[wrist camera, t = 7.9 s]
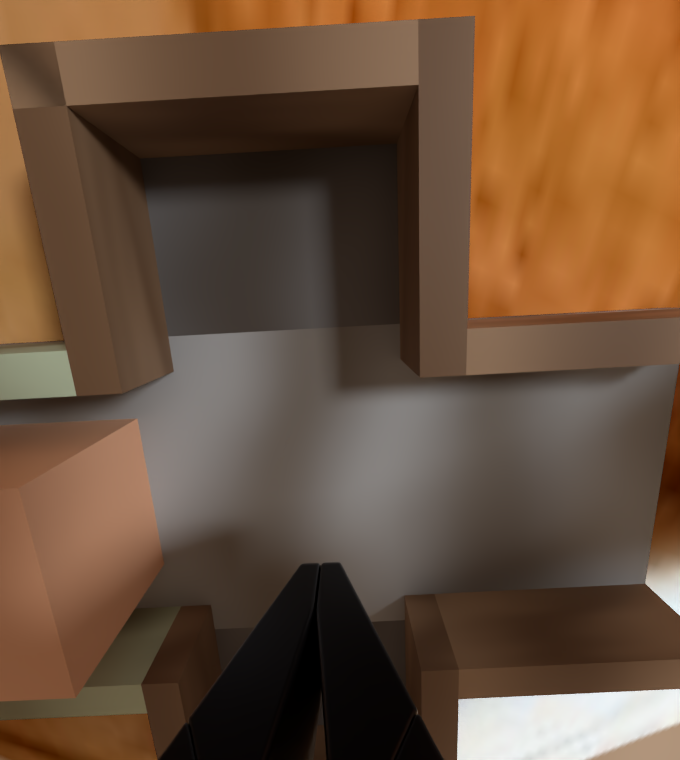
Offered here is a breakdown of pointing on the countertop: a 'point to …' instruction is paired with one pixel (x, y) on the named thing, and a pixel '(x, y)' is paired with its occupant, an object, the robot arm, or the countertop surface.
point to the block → (70, 550)
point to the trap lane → (333, 370)
